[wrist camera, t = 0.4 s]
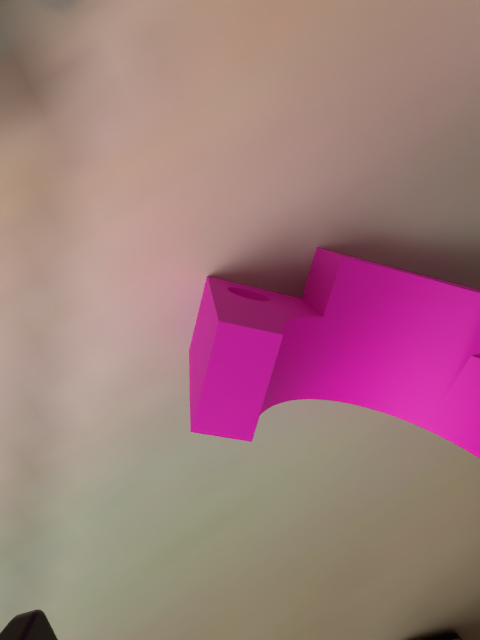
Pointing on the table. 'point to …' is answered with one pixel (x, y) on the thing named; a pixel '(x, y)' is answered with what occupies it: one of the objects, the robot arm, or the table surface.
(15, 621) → the robot arm
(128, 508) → the table surface
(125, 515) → the table surface
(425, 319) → the magenta cradle block
